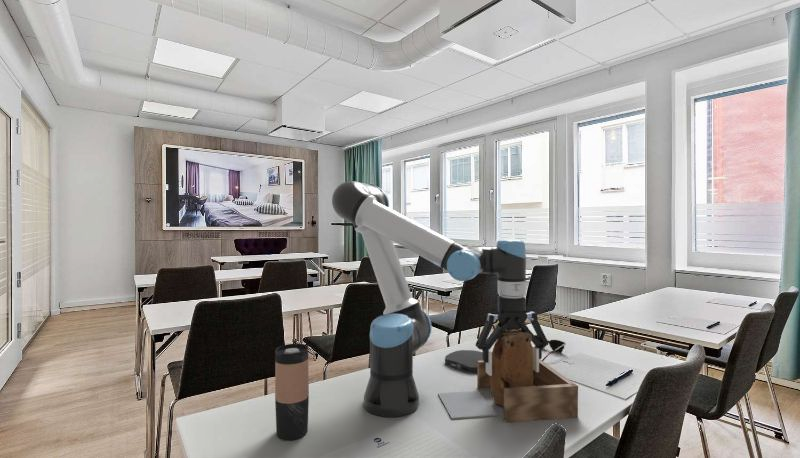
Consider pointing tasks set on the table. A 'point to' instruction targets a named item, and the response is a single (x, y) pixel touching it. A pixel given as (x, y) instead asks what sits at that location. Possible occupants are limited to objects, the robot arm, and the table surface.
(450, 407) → the mat
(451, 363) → the media streaming box
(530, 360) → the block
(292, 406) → the travel mug
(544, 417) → the open box
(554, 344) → the sunglasses
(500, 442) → the table surface
